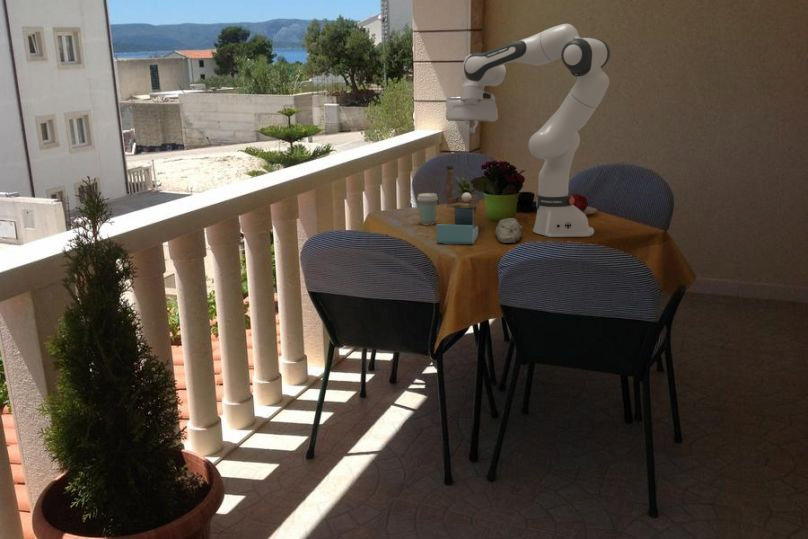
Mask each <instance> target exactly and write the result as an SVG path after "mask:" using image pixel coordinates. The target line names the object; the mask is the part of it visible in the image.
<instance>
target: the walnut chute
mask: <svg viewBox="0 0 808 539" xmlns="http://www.w3.org/2000/svg"><path fill="white" fill-rule="evenodd" d="M453 177H454V165H453V164H450V163H448V164H447V165H446V185H445V186H446V188H445V189H446V192H445V193H446V195H445V196H446V199H445V200H446V208H447V209H448V208H451V209H453V208H454V209H455V208H474V211H477V207H478V206H480V197H478V194H473V195H472V194H471V196H472V199H470V200H469V203H465V202H463V201H462V195H461V194H458V195H457V196H455V197H453V191H454V189H453V186H454V185H453V184H454V181H453V180H454V179H453Z"/></svg>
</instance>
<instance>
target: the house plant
mask: <svg viewBox="0 0 808 539" xmlns="http://www.w3.org/2000/svg"><path fill="white" fill-rule="evenodd" d="M455 178H456V179H457V180H458V182H457V181H456V180H454V179H453V182H454V183H455V184H456V185H457V189H456V190H453V193H457V194H458V193H460V195H463V194H464V193H470V194H471V195H475V193H477V191H476V189H475V187H474V185H473V184H471V181H468V182H467V180H468V178H464V176H462V178H461V179H462V182H461V180H460V178H459V177H458V176H457V177H456V176H455Z"/></svg>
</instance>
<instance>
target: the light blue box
mask: <svg viewBox="0 0 808 539" xmlns="http://www.w3.org/2000/svg"><path fill="white" fill-rule="evenodd" d="M435 225H436V244H437V243H443V244H442V245H454V244H473V242H474V241H475V240H477V239H478V237H479V226H477V225H476V226H473V225H455V224H441V223H440V224H437V223H436V224H435ZM476 238H477V239H476ZM475 242H476V241H475ZM475 242H474V243H475ZM473 245H474V244H473Z"/></svg>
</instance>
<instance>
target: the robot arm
mask: <svg viewBox="0 0 808 539" xmlns="http://www.w3.org/2000/svg"><path fill="white" fill-rule="evenodd" d="M560 58H561V61H562V63H563V65H564V66H565V67H566V68H567V69H568V70H569V72H570V73H571V75H572V76H574V77H576V78H577V79H576V81H575V83H574V85H573V86H572V88H571V89H570V91H569V92H568V94H567V96H565V98H564V100H563V102H562V103H561V104H560V106H559V108H558V109H556V111H555V112H554V113H553V114H552V115H551V116H550V117H549V119H548V120H547V121H546V122H545V123H544V124H543V125H542V126H541V127H540V128H539V130H537V131H536V132H534V134H532V135H531V136H530V138H529V140H528V150H529V152H530V154H531V156H533V157H534V158H536V159H539V160H540V159H541V160H544V163H543V165H542V168H541V169H540V171H539V172H538V182H537V184H538V188H537V190H538V191H537V195H536V206H535V207H536V210H537V212H536V216H535V217H536V218H535V223H534V227H533V230H532V232H534V233H535V234H538V235H543V236H545V237H548V238H558V237H559V238H564V237H566V238H567V237H570V238H573V237H574V238H575V237H584V238H585V237H591V236H593V235H594V233H595V229H594V227H592V226H589V220H588V217H587V215H586V213H584V212H583V211H582V210H580V209H579V208H578V207H577V206H575V205H574V203H575V200H576V199H575V197H574V196H573V195H570V194H569V186H570V185H569V184H570V183H569V182H570V171H571V168H572V164H573V161H574V160H573V159H574V156H575V154H576V151H577V150H578V148H579V147H580V142H581V137H580V134H579V132H578V131H580V130H581V129H582V128H583V127H585V125H586V124H587V123H588V121H589V120H590V118H591V117H592V115H593V114H594V112H595V111H596V110H597V108H598V106H599V105H600V103H601V102H602V100H603V98H604V97H605V94H606V92H607V91H608V88H609V86H610V78H609V76H608V74H607V73H606V72H605V71H603V70H602V68H604V67H605V66H606V65H607V64H608V62H609V61H610V59H611V49H610V46H609V45H608V44H607V43H606V42H605V41H604V40H602V39H600V38H595V37H580V35H579V32H578V30H577V29H576V27H575V26H574V25H572V24H571V23H562V24H559V25H555V26H552V27H550V28H547V29H545V30H543V31H541V32H539V33H536V34H533V35H531V36H528V37H525V38H523V39H519V40H517V41H516V40H515V41H514V42H509V43H507V44H504V45H501V46H498V47H497V48H494V49H491V50H489V51H485V52H473V53H470V54H468V55H466V56H465V58H464V60H463V64H462V72H461V80H462V84H461V92H460V93H461V96H451V97H448V98H447V99H446V101H445V108H446V111H445V119H446V121H448V122H464V125H465V126H466V128H467V129H466V133H476V128H477V126H478V125H479V122H496V121H498V118H499V116H498V114H499V112H498V105H497V103H496V96H495V95H494V93H490V92H488V91H485V88H486V86H487V87H498V86H500V85H502V84H503V83H504V82H505V79H506V76H507V67H506V64H509V63H510V64H511V63H520V64H527V65H532V66H543V65H547V64H550V63H553V62H554V61H556V60H559V59H560ZM470 122H473V126H471V127H470V126H469V124H470Z"/></svg>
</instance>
